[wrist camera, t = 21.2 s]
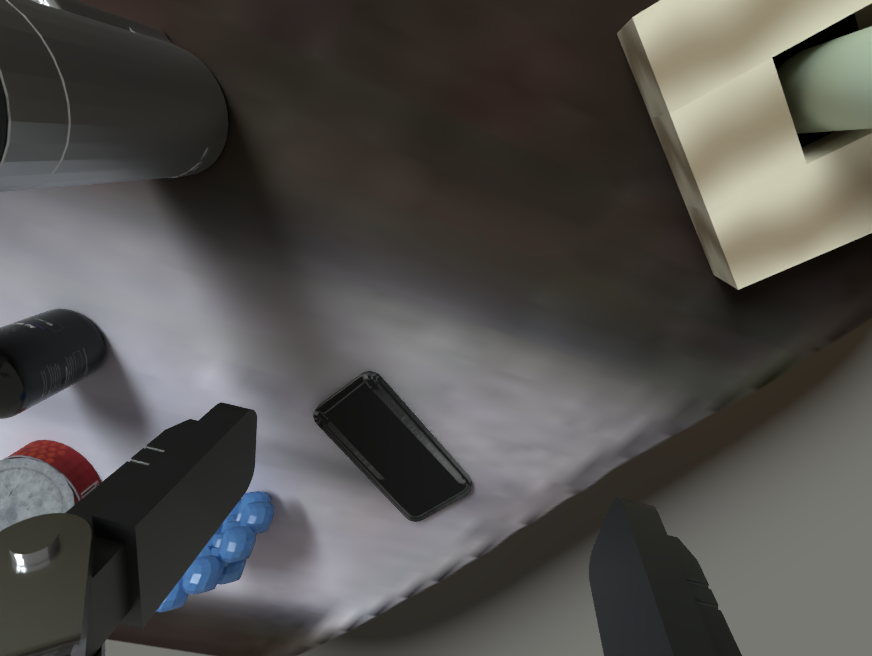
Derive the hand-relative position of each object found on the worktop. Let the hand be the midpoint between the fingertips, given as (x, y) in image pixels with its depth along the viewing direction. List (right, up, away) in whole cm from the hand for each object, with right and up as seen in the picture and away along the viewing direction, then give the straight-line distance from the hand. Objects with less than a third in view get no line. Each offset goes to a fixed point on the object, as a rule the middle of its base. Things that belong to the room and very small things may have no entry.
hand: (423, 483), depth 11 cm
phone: (-4, -8, +34) cm, 35 cm away
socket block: (+24, +19, +20) cm, 36 cm away
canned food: (-40, -13, +41) cm, 59 cm away
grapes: (-19, -15, +39) cm, 46 cm away
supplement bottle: (-34, +2, +35) cm, 48 cm away
